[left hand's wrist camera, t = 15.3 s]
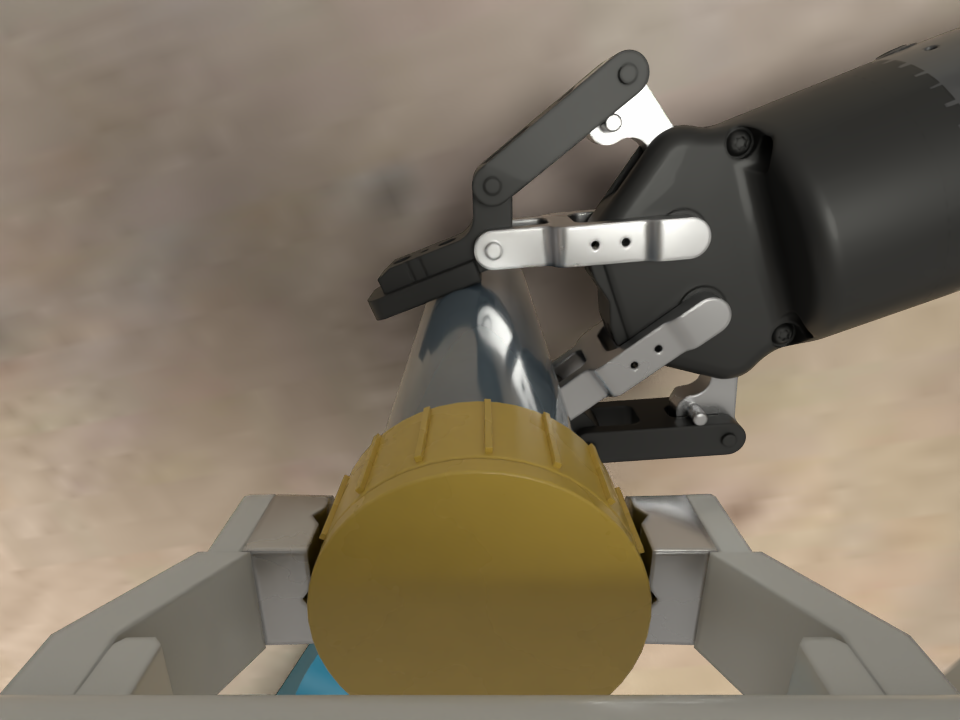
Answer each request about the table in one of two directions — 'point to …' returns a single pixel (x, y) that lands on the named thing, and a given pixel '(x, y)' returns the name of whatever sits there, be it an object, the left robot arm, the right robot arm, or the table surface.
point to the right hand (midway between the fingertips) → (407, 367)
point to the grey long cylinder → (481, 352)
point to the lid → (479, 562)
